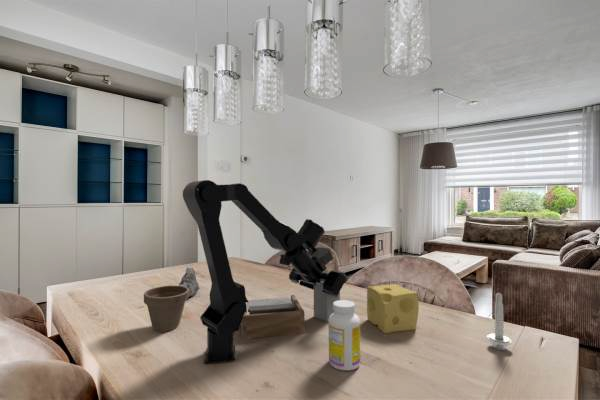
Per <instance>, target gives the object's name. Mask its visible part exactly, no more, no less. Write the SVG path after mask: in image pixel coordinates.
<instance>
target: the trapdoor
mask: <svg viewBox="0 0 600 400" xmlns="http://www.w3.org/2000/svg"><path fill="white" fill-rule="evenodd" d="M247 300H248V299H247ZM246 305H247V313H249V314H261V313H274V312H287V311H295V306H294V304H293V303H292V302H291V297H275V298H264V299H263V298H262V299H260V298H259V299H249V300H248V303H247V302H246Z"/></svg>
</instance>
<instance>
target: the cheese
mask: <svg viewBox="0 0 600 400" xmlns="http://www.w3.org/2000/svg"><path fill="white" fill-rule="evenodd" d="M366 288H367V289H366V314H367V317H366V318H367V320H368V321H369V322H370V323H371V324H372V325H374V326H377V327H378V329H379V330H380V331H381V332H382V333H384V334H390V333H396V332H397V333H398V332H405V331H414V330H417V324H418V317H419V307H420V306H419V295H418V292H417V291H414V290H410V289H407V288H405V287H403V286H401V285H398V284H396V283H393V284H391V283H390V284H384V285H372V286H371V285H368V286H367V287H366Z"/></svg>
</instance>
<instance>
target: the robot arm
mask: <svg viewBox="0 0 600 400" xmlns="http://www.w3.org/2000/svg"><path fill="white" fill-rule="evenodd" d="M253 194H254V193H253ZM253 194H252V192H251V191H250V190H249V188H248V187H247V185H245V184H244V183H242V182H241V183H240V182H239V183H238V182H237V183H231V184H217V183H216V182H214V180H213V181H212V180H209V179H206V180H195V181H191V182H189V183H187V185H185V186H184V189H183V190H182V199H183V201H184V203H185V205H186V207H187V210H188V212H189V213H190V215H191V216H192V218H193V219H194V222H196V224H197V228H198V232H199V236H200V240H201V244H202V248H203V252H204V256H205V261H206V264H207V269H208V272H209V276H210V280H211V287H210V291H209V305H208V306H207V307H206V308H205V310H204V312H203V313H202V314H201V315H200V319H199V320H200V321H201V323H202V325H203V326H205V327H207V330H206V334H207V335H206V338H207V339H206V344H207V345H206V349H205V355H204V360H203V363H204V364H215V363H224V362H234V361H236V345H235V344H234V333H236V332H239V330H240V328H241V326H242V324H241V322H242V318H243V316H244V314H245V312H246V310H247V311H248V307H247V303H248V298H247V295H246V288H245V285H243V284H241V283H239V282H236V281H234V279H233V274H232V270H231V265H230V261H229V257H228V252H227V248H226V244H225V240H224V235H223V232H222V226H221V223H220V216H221V210H222V202H229V201H230V202H232V203H233V204H234V205H235V206H236V207H238V209H240V211H241V212H242V213H243V214H245V216H246V217H247V218H249V220H250V221H251V222H253V223H254V225H255V226H257V227H258V228H259V229H260V230H261V232H262V233H263V236H264V237H263V238H264V240H265V241H266V242H267V243H268V245H269V246H270V247H271V248H272V249H273V250H278V251H284V253H283V254H280V258H279V264H280V265H283V266H287V267H290V265H291V266H292V267H293V268H292V270H291V271H290V273H289V274H288V279H289V280H290V282H292V283H293V284H297V285H298V284H299V286H301V287H305V288H307V289H309V290H313V291H314V285H315V284H316V283H318V284H320V282H321V281H323V282H324V283H323V291H322V292H324V293H326V294H329V295H332V296H334V297H338V294H339V292H340V293H341V290H342V287H343V286H344V284H345V283H346V281H347V279H348V277H347V275H346V274H345V273H344V272H343V271H340V270H335V269H333V270H330V271H329V272H328V273H327V272H326V270H327V264H329V263H330V262H331V261H333V260H334V256H333V254H332V251H331V249H330V248H327V247H316V246H317V245H318V244H319V242H320V240H321V239H322V237H323V236H324V234H325V233H326V231H325V229H324V227H323V226H321V225H319V224H318V223H316V222H315V221H313V220H312V219H309V218H308V219H305V220H304V222H303V224H302V226H301V227H300V228H299V230H298V232H297V231H296V230H294V229H293V228H292V227H290V226H289V225H287V224H285V223H283V222H282V221H280V220H279V219H277V218H276V217H275V216H274V215H273V214H272V213H271V211H269V210H268V209H267V208H266V207H265V205H263V204H262V203H261V202H260V201H259V200H258V199H257V197H255V195H253Z"/></svg>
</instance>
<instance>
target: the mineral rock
mask: <svg viewBox="0 0 600 400" xmlns="http://www.w3.org/2000/svg"><path fill="white" fill-rule="evenodd" d="M178 286H184V287H187V288H188V289H189V297H192V296H194V295H196V294H197V293H198V292H199V291H200V285H199V282H198V281H197V275H196V271H195V269H194V267H187V266H186V269H185V273H184V275H182V277H181V280H180V282H179V285H178ZM189 297H188V298H189Z"/></svg>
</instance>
